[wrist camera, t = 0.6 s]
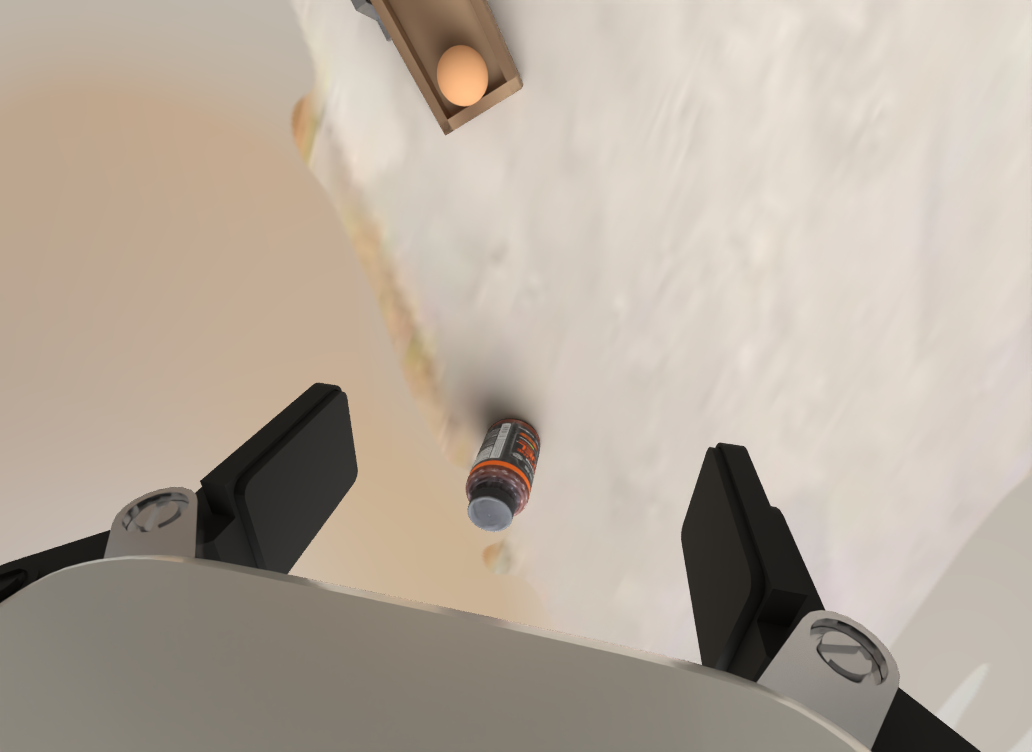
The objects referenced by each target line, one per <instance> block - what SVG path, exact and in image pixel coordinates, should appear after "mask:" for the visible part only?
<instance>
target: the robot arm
mask: <svg viewBox="0 0 1032 752" xmlns="http://www.w3.org/2000/svg"><path fill="white" fill-rule="evenodd" d="M357 472H358V469H357V462H356V455H355V448H354V441H353V435H352V428H351V421H350V414H349V407H348V400H347V395H346V393H345V392H342V391H341V388H340V387H339V386H336V385H331V384H324V383H315V384H314V385H312V386H311V387H310V388H309V389H308V390H306V391H305V392H304V393H303V394H302V395H301V396H299V397H298V398H297V399H296V400H295V401H294V402H292V403H291V404H290V405H289V406H288V407H286V408H285V409H284V410H283V411H282V412H281V413H279V414H278V415H277V416H276V417H275V418H273V419H272V420H271V421H270V422H269V423H268V424H266V425H265V426H264V427H263V428H262V429H261V430H259V431H258V432H257V433H256V434H255V435H253V436H252V437H251V438H250V439H249V440H248V441H246V442H245V443H244V444H243V445H242V446H241V447H239V448H238V449H237V450H236V451H235V452H234V453H232V454H231V455H230V456H229V457H228V458H227V459H225V460H224V461H223V462H222V463H221V464H219V465H218V466H217V467H216V468H215V469H214V470H212V471H211V472H210V473H209V474H208V475H207V476H206V477H204V478H203V479H202V480H201V481H200V482H201V485H202V487H201V488H200V489H199V490H198V491H197V492H196V493H194V492H193V491H192V490H189V489H186V488H183V487H171V488H165V489H159V490H157V491H153V492H150V493H148V494H145V495H143V496H141V497H139V498H137V499H135V500H133V501H132V502H131V503H130V504H128V505H126V506H125V507H124V508H123V509H122V510H121V511H120V512H119V513H118V514H117V515H116V517H115V519H114V522H113V523H112V527H111V530H109V531H106V532H102V533H99V534H96V535H93V536H90V537H87V538H84V539H81V540H77V541H74V542H71V543H68V544H65V545H62V546H59V547H55V548H52V549H49V550H46V551H43V552H40V553H37V554H33V555H30V556H27V557H24V558H21V559H18V560H15V561H12V562H8V563H6V564H3V565H1V566H0V752H980V751H979V750H978V749H977V748H975V747H974V746H973V745H972V744H970V743H969V742H968V741H966V740H965V739H964V738H963V737H961V736H960V735H959V734H958V733H956V732H955V731H954V730H953V729H951V728H950V727H949V726H947V725H946V724H945V723H944V722H942V721H941V720H940V719H939V718H937V717H936V716H935V715H933V714H932V713H931V712H929V711H928V710H927V709H926V708H924V707H923V706H922V705H921V704H919V703H918V702H917V701H916V700H914V699H913V698H912V697H910V696H909V695H908V694H906V693H905V692H904V691H903V690H901V689H900V688H899V679H900V674H899V671H898V667H897V664H896V662H895V660H894V658H893V657H892V655H891V653H890V652H889V650H888V649H887V648H886V646H885V645H884V644H883V643H882V642H881V641H880V640H879V639H878V638H877V637H876V636H875V635H874V634H873V633H872V632H870V631H869V630H868V629H866V628H865V627H864V626H863V625H861V624H859V623H858V622H856V621H854V620H852V619H851V618H849V617H847V616H844V615H841V614H838V613H836V612H832V611H825V608H824V606H823V604H822V602H821V599H820V597H819V595H818V593H817V590H816V588H815V586H814V584H813V581H812V579H811V577H810V575H809V572H808V570H807V568H806V566H805V563H804V561H803V559H802V557H801V554H800V552H799V550H798V548H797V545H796V543H795V541H794V538H793V536H792V534H791V532H790V529H789V527H788V525H787V523H786V520H785V518H784V516H783V514H782V513H781V511H780V510H779V509H778V508H777V507H772V506H770V504H769V501H768V499H767V496H766V494H765V492H764V489H763V487H762V485H761V482H760V480H759V477H758V475H757V473H756V470H755V468H754V466H753V463H752V461H751V458H750V456H749V454H748V451H747V449H746V448H745V447H744V446H740V445H733V444H726V443H718V444H717V445H716V448H712V447H709V448H708V450H707V452H706V455H705V458H704V461H703V464H702V467H701V471H700V474H699V477H698V480H697V483H696V486H695V489H694V492H693V495H692V498H691V501H690V505H689V508H688V511H687V514H686V517H685V520H684V523H683V526H682V532H681V541H682V548H683V554H684V560H685V566H686V572H687V578H688V584H689V589H690V595H691V601H692V607H693V613H694V619H695V625H696V631H697V637H698V643H699V649H700V655H701V661H702V665H699V664H696V663H692V662H689V661H684V660H680V659H676V658H672V657H667V656H663V655H659V654H655V653H650V652H646V651H642V650H638V649H633V648H629V647H625V646H621V645H616V644H612V643H608V642H603V641H598V640H594V639H589V638H585V637H580V636H576V635H571V634H566V633H562V632H557V631H553V630H548V629H543V628H539V627H534V626H530V625H525V624H520V623H516V622H511V621H506V620H502V619H497V618H493V617H488V616H484V615H479V614H474V613H469V612H465V611H460V610H455V609H451V608H446V607H441V606H437V605H432V604H427V603H423V602H418V601H412V600H408V599H403V598H398V597H394V596H389V595H385V594H380V593H375V592H370V591H366V590H360V589H356V588H351V587H346V586H341V585H336V584H332V583H327V582H322V581H317V580H312V579H307V578H303V577H298V576H293V575H288V573H289V571H290V570H291V568H292V567H293V566H294V564H295V563H296V562H297V560H298V559H299V558H300V556H301V555H302V553H303V552H304V551H305V549H306V548H307V547H308V545H309V544H310V542H311V541H312V540H313V538H314V537H315V536H316V534H317V533H318V531H319V530H320V529H321V527H322V526H323V524H324V523H325V522H326V521H327V519H328V518H329V516H330V515H331V514H332V512H333V511H334V510H335V508H336V507H337V506H338V504H339V503H340V502H341V500H342V499H343V497H344V496H345V495H346V493H347V492H348V491H349V489H350V488H351V486H352V485H353V484H354V482H355V480H356V477H357Z"/></svg>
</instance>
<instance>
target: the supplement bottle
mask: <svg viewBox="0 0 1032 752" xmlns="http://www.w3.org/2000/svg"><path fill="white" fill-rule="evenodd" d="M539 452H540V440H539V437H538V435H537V433H536V431H535V430H534V429H533V428H532V427H531V426H529V425H528V424H526V423H525V422H522V421H521V420H515V419H505V420H501V421H499V422H497V423H495V424H494V425H493V426H491V428H490V429H489V431H488V433H487V434H486V437H485V439H484V441H483V444H482V446H481V448H480V451H479V453H478V455H477V458H476V460H475V463H474V465H473V467H472V470H471V472H470V475H469V477H468V480H467V483H466V494H467V498H468V500H469V502H470V503H469V506H468V515H469V518H470V520H471V521H472V522H473V523H474V524H475V525H476V526H478V527H479V528H481V529H484V530H486V531H492V532H495V531H501V530H504V529H506V528H507V527H508V526H509V525H510V524H511V522H512V519H513V516H515V515H517V514H519V513H520V512H521V511H522V510H523V509H524V508H525V506H526V505H527V503H528V499H529V495H530V492H531V487H532V483H533V478H534V473H535V469H536V465H537V461H538V457H539Z"/></svg>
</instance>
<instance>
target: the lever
mask: <svg viewBox="0 0 1032 752" xmlns="http://www.w3.org/2000/svg"><path fill="white" fill-rule="evenodd" d="M370 1H371V3H372V5H373V6H374V8H375V10H376V12H377V14H378V15H379V17H380V19H381V21H382V23H383V24H384V26H385V28H386V30H387V31H388V33H389V35H390V37H391V39H392V40H393V42H394V44H395V46H396V48H397V49H398V51H399V53H400V55H401V57H402V58H403V60H404V62H405V64H406V66H407V67H408V69H409V71H410V73H411V75H412V76H413V78H414V80H415V82H416V84H417V85H418V87H419V89H420V91H421V93H422V94H423V96H424V98H425V100H426V102H427V103H428V105H429V107H430V109H431V111H432V112H433V114H434V116H435V118H436V119H437V121H438V123H439V125H440V127H441V128H442V130H443V132H444V134H445V135H447V134H449V133H450V132H452V131H454V130H455V129H457V128H458V127H460V126H462V125H463V124H465V123H467V122H468V121H470V120H471V119H473V118H475V117H476V116H478V115H479V114H481V113H483V112H484V111H486V110H488V109H489V108H491V107H492V106H494V105H496V104H497V103H499V102H501V101H502V100H504V99H505V98H507V97H509V96H510V95H512V94H514V93H515V92H517V91H518V90H520V89H521V88H522V87H523V83H522V80H521V78H520V76H519V74H518V71H517V69H516V67H515V65H514V62H513V60H512V58H511V55H510V53H509V51H508V49H507V46H506V44H505V42H504V40H503V37H502V35H501V33H500V31H499V28H498V26H497V24H496V21H495V19H494V17H493V15H492V12H491V10H490V8H489V6H488V3H487V1H486V0H370ZM457 45H465V46H469V47H471V48H473V49H474V50H476V51H477V52H478V53H479V54H480V55H481V56H482V58H483V60H484V61H485V64H486V66H487V70H488V85H487V88H486V91H485V93H484V95H483V96H482V98H481V99H480V100H479V101H478V102H476V103H474V104H473V105H470V106H459V105H456V104H453V103H452V102H450V101H449V100H448V99H447V98H446V97H445V96H444V95H443V93H442V92H441V90H440V87H439V85H438V80H437V67H438V63H439V60H440V58H441V57H442V55H443V54H444V53H445V52H446V51H447V50H448V49H449V48H451V47H453V46H457Z"/></svg>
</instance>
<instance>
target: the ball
mask: <svg viewBox="0 0 1032 752" xmlns="http://www.w3.org/2000/svg"><path fill="white" fill-rule="evenodd" d="M437 80H438V85H439V87H440V90H441V92H442V93H443V95H444V96H445V97H446V98H447V99H448V100H449V101H450V102H452V103H453V104H456V105H459V106H470V105H473V104H474V103H476V102H478V101H479V100H480V99H481V98H482V96H483V95H484V93H485V91H486V88H487V85H488V70H487V66H486V64H485V61H484V60H483V58H482V56H481V55H480V54H479V53H478V52H477V51H476V50H474V49H473V48H471V47H469V46H465V45H457V46H453V47H451V48H449V49H448V50H447V51H446V52H445V53H444V54H443V55H442V57H441V58H440V60H439V63H438V67H437Z"/></svg>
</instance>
